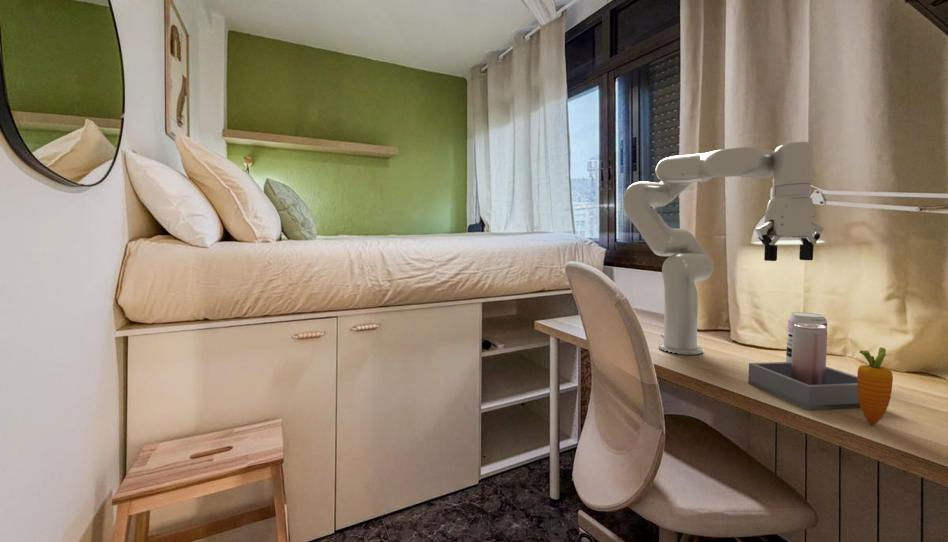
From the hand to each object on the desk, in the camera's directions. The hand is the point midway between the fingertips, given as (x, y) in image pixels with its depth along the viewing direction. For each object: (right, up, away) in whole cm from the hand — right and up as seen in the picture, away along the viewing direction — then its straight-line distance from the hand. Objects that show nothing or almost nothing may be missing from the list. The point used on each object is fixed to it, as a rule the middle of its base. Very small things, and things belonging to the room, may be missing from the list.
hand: (788, 260), depth 99 cm
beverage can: (-4, -30, -10) cm, 32 cm away
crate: (-4, -31, -10) cm, 33 cm away
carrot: (-5, -32, -25) cm, 41 cm away
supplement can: (+11, -30, +8) cm, 33 cm away
